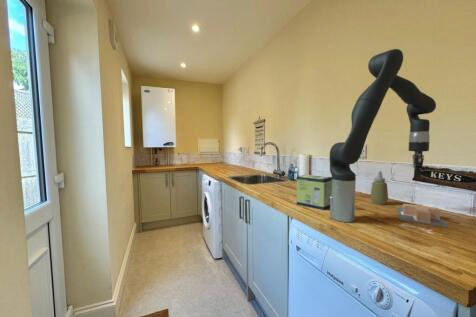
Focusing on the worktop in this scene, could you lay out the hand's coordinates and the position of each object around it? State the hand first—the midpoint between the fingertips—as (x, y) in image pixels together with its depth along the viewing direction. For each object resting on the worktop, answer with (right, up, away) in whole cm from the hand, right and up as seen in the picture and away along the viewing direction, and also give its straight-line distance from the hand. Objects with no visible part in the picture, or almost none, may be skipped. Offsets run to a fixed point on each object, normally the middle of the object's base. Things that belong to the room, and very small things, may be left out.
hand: (417, 176), depth 102 cm
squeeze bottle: (-11, -16, +11) cm, 23 cm away
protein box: (-47, -16, +11) cm, 51 cm away
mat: (-7, -17, -9) cm, 20 cm away
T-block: (-8, -17, -12) cm, 22 cm away
